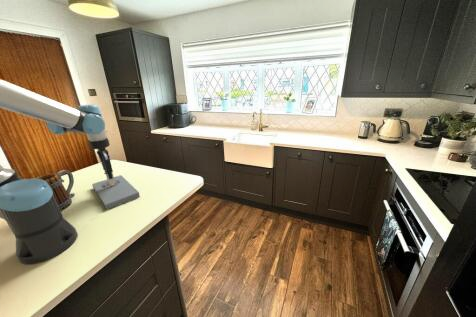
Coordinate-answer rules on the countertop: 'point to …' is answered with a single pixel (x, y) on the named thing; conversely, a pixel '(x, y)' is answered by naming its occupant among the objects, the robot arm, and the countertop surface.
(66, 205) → the mug
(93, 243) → the countertop surface
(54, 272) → the countertop surface
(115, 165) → the countertop surface
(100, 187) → the plate
